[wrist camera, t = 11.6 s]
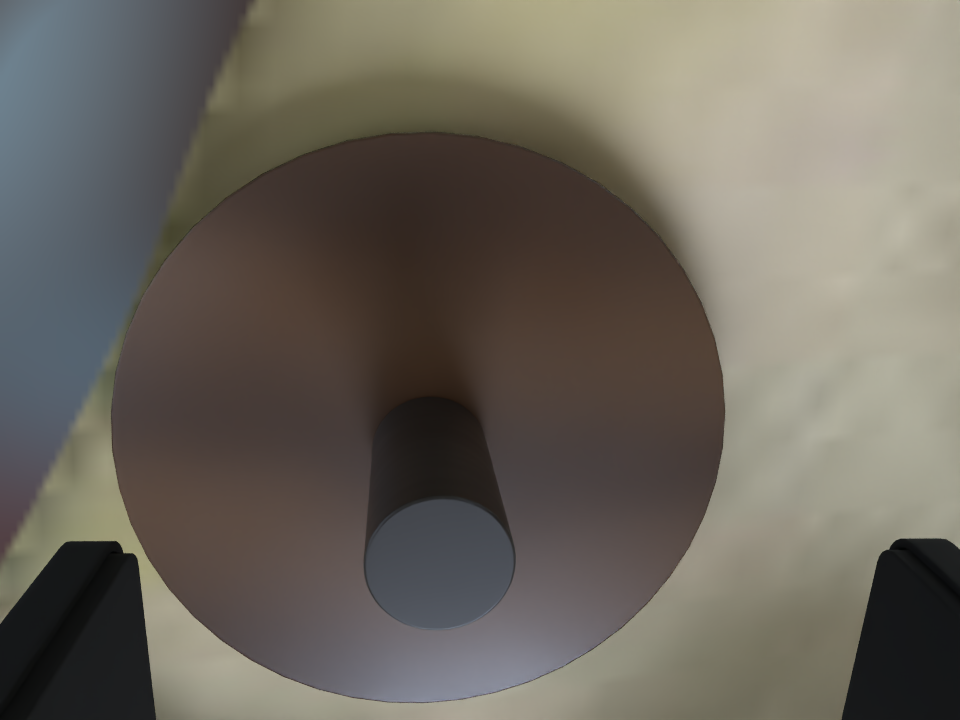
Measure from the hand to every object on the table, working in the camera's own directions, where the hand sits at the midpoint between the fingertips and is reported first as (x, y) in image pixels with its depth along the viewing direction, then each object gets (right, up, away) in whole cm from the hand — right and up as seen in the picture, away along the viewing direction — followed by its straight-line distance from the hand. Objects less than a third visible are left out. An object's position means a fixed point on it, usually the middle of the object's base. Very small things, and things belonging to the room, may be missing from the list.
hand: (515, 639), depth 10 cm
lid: (-2, +2, +9) cm, 9 cm away
